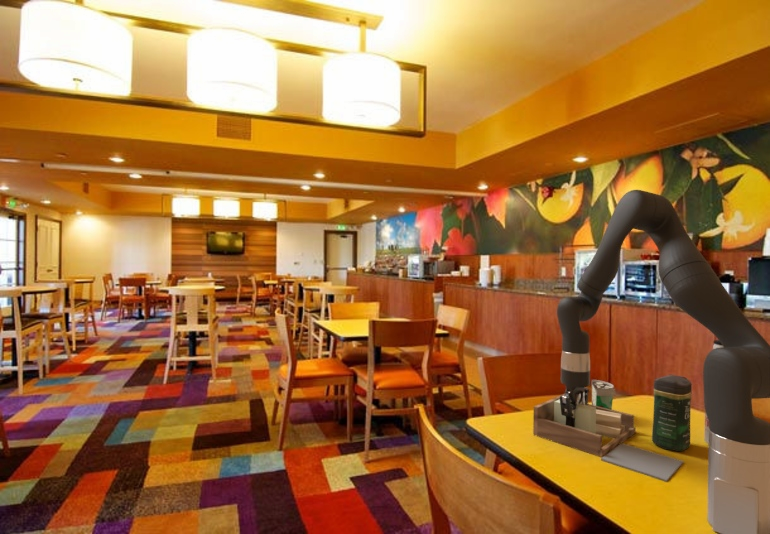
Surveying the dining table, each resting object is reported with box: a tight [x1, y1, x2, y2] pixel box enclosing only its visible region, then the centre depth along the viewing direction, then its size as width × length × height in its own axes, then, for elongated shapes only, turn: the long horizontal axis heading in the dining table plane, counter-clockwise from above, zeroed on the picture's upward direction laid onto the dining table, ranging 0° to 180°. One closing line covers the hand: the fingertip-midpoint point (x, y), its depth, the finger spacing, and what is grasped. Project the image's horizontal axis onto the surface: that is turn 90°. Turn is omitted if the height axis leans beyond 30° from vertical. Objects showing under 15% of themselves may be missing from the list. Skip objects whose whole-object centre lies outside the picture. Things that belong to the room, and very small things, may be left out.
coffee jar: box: [651, 374, 693, 452], centre depth 116 cm, size 10×8×19 cm
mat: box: [600, 442, 684, 483], centre depth 106 cm, size 14×14×1 cm
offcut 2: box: [596, 424, 625, 439], centre depth 124 cm, size 5×8×3 cm, turn 46°
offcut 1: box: [596, 410, 621, 428], centre depth 124 cm, size 4×7×3 cm, turn 58°
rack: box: [532, 393, 637, 458], centre depth 123 cm, size 24×19×8 cm
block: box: [554, 399, 596, 434], centre depth 121 cm, size 4×10×9 cm, turn 42°
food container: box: [591, 379, 616, 410], centre depth 138 cm, size 12×6×10 cm, turn 161°
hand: (574, 427), depth 121 cm, fingers open, 4 cm apart
